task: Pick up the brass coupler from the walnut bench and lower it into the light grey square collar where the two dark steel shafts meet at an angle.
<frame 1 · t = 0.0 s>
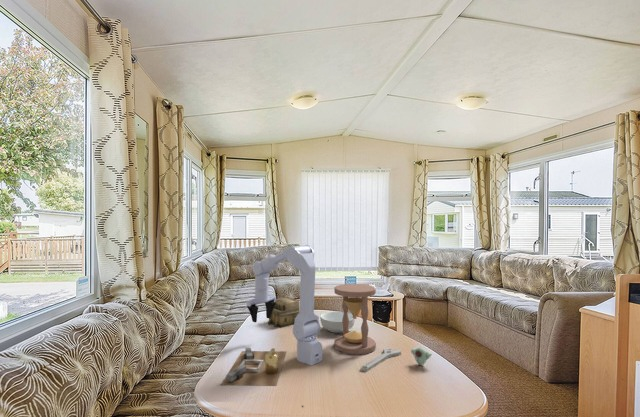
hand: (261, 319, 149), 10 cm above the table, tool pointing down, fingers open, 7 cm apart
coupler: (271, 371, 119), point 1 cm above the table, touching coupling bench
coupling bench: (257, 369, 123), on the table
cereal bowl: (337, 330, 167), on the table
adjustable wrench: (379, 361, 132), on the table
hourglass: (354, 347, 146), on the table
miniature house: (282, 322, 179), on the table
robot head: (420, 365, 127), on the table
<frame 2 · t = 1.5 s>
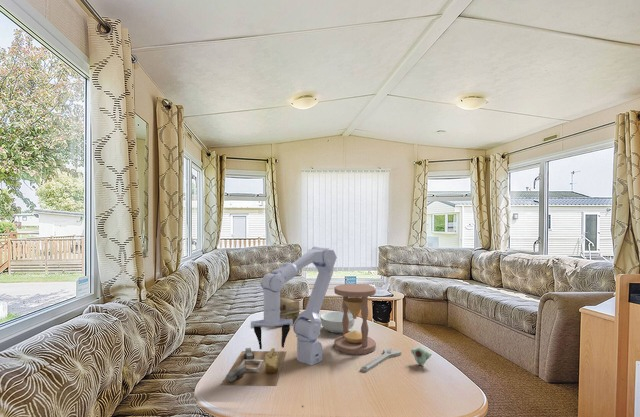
hand: (271, 347, 120), 9 cm above the table, tool pointing down, fingers open, 7 cm apart
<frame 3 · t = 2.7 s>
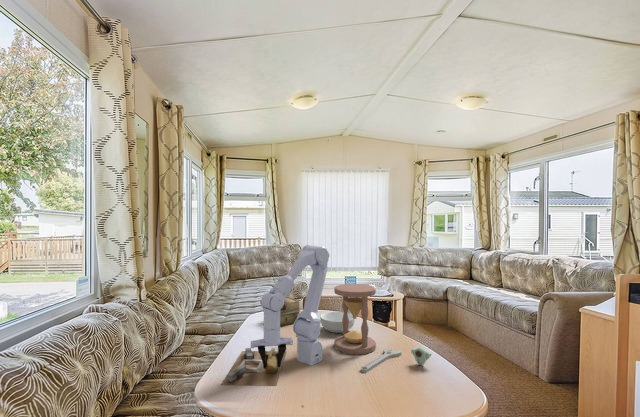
hand: (271, 366, 119), 3 cm above the table, tool pointing down, fingers closed on coupler, 4 cm apart
coupler: (271, 371, 119), point 1 cm above the table, touching coupling bench, gripper
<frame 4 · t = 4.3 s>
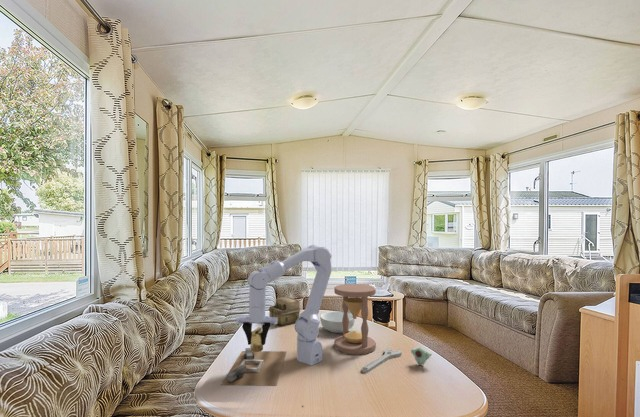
hand: (256, 343, 122), 10 cm above the table, tool pointing down, fingers closed on coupler, 4 cm apart
coupler: (256, 349, 121), point 8 cm above the table, touching gripper
when the fingers open (4 cm above the table, at t = 6.1 s): coupler stays where it is, resting on coupling bench.
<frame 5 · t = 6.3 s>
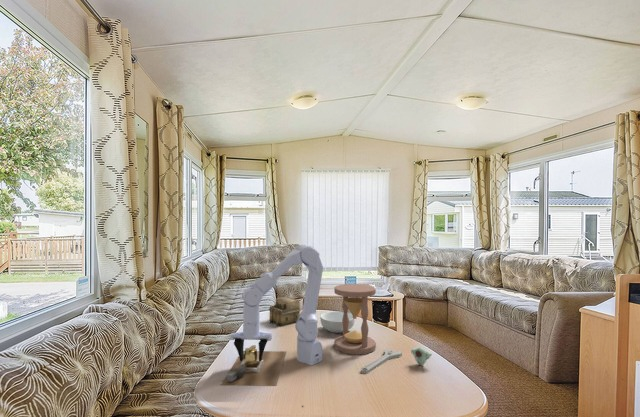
hand: (251, 359, 122), 4 cm above the table, tool pointing down, fingers open, 6 cm apart
coupler: (250, 367, 122), point 1 cm above the table, touching coupling bench
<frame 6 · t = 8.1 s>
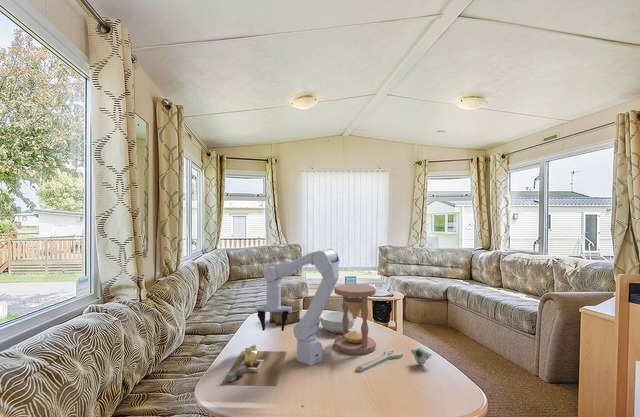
hand: (273, 330, 138), 9 cm above the table, tool pointing down, fingers open, 7 cm apart
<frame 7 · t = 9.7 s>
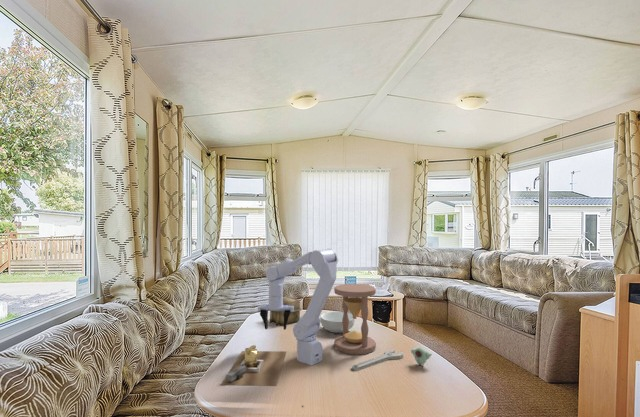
hand: (275, 328, 140), 9 cm above the table, tool pointing down, fingers open, 7 cm apart
at the end: coupler 0.2 cm from the target spot, point 1.2 cm above the table; coupler tilted 0°; the gripper is holding nothing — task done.
